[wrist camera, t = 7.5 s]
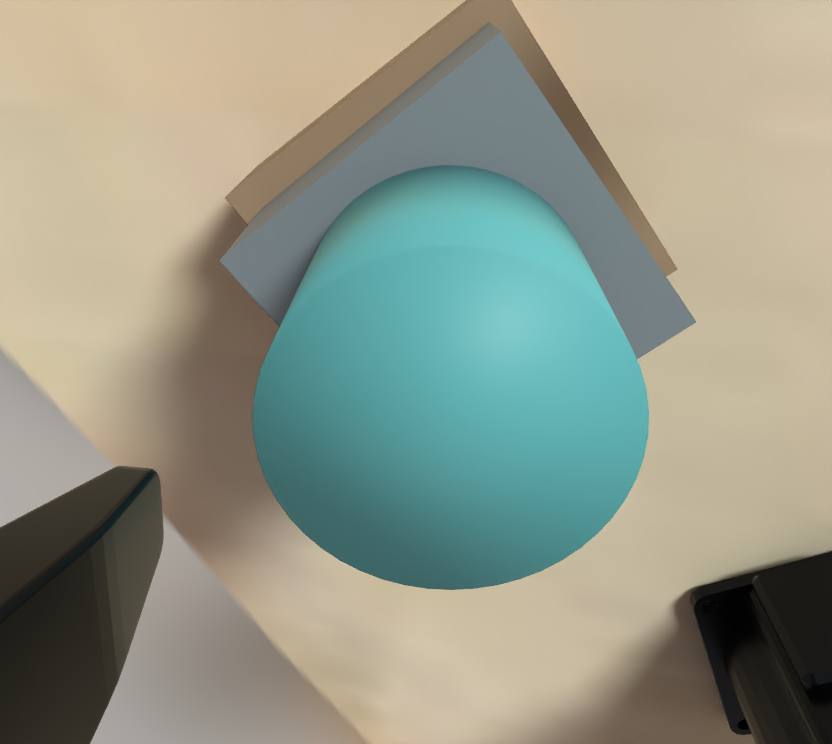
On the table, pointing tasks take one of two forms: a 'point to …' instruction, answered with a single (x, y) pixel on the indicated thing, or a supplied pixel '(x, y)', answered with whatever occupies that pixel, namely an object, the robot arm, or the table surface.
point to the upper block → (475, 147)
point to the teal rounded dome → (450, 387)
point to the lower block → (390, 81)
